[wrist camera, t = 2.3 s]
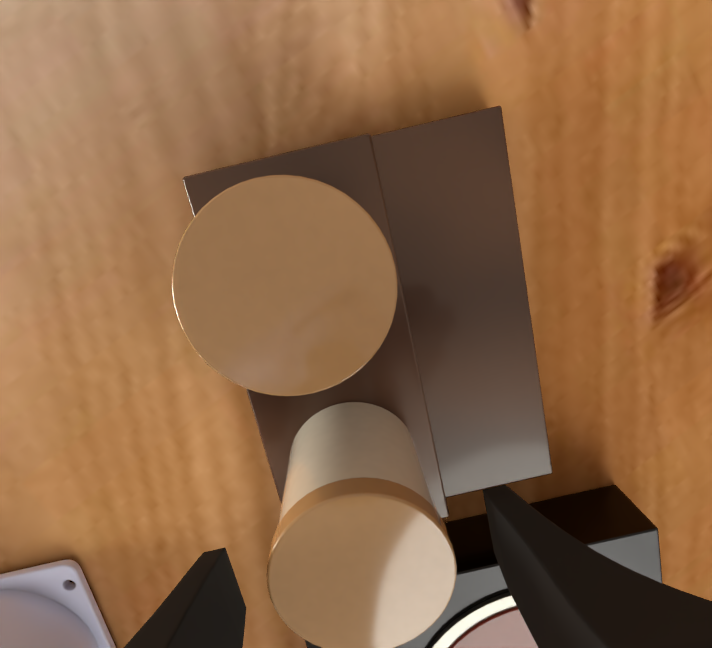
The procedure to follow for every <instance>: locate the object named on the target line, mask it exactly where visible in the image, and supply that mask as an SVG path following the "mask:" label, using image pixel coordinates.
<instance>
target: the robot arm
mask: <svg viewBox="0 0 712 648" xmlns="http://www.w3.org/2000/svg"><path fill="white" fill-rule="evenodd" d="M483 494H484V500H485V505H486V511H487V516H488V522H489V527H490V533H491V538H492V543H493V549H494V553H495V556H496V559H497V561H498V564H499V567H500V569H501V572H502V575H503V577H504V580H505V582H506V585H507V587H508V590H509V592H510V594H511V596H512V598H513V600H514V601H515V603H516V605H517V607H518V609H519V611H520V613H521V615H522V617H523V619H524V621H525V623H526V625H527V627H528V629H529V631H530V633H531V635H532V637H533V638H534V640H535V642H536V644H537V646H538V648H712V601H709V600H706V599H703V598H700V597H697V596H695V595H692V594H689V593H686V592H683V591H680V590H678V589H675V588H673V587H670V586H668V585H665V584H662V583H660V582H658V581H655V580H653V579H651V578H649V577H646V576H644V575H642V574H640V573H637V572H635V571H633V570H631V569H629V568H627V567H625V566H623V565H621V564H619V563H617V562H615V561H613V560H611V559H609V558H608V557H606V556H604V555H602V554H600V553H598V552H596V551H595V550H593V549H591V548H590V547H588V546H587V545H585V544H583V543H582V542H580V541H579V540H577V539H576V538H574V537H573V536H571V535H570V534H568V533H567V532H565V531H564V530H562V529H561V528H560V527H558V526H557V525H555V524H554V523H553V522H551V521H550V520H549V519H547V518H546V517H545V516H543V515H542V514H541V513H539V512H538V511H537V510H535V509H534V508H533V507H532V506H530V505H529V504H528V503H527V502H525V501H524V500H523V499H522V498H521V497H519V496H518V495H517V494H516V493H515V492H514V491H512V490H511V489H510V488H509V487H507V486H506V485H502V486H497V487H493V488H488V489H484V490H483ZM68 580H71V581H73V582H74V583H71V582H69V581H68ZM245 615H246V606H245V603H244V600H243V597H242V595H241V592H240V589H239V586H238V583H237V580H236V577H235V574H234V572H233V569H232V566H231V563H230V560H229V557H228V554H227V551H226V549H225V548H222V549H217V550H213V551H208V552H204V553H203V554H202V555H201V556H200V557H199V558H198V560H197V561H196V562H195V563H194V565H193V566H192V567H191V568H190V570H189V571H188V572H187V573H186V575H185V576H184V577H183V578H182V580H181V581H180V582H179V583H178V585H177V586H176V587H175V588H174V590H173V591H172V592H171V593H170V594H169V596H168V597H167V598H166V599H165V601H164V602H163V603H162V604H161V606H160V607H159V608H158V609H157V610H156V612H155V613H154V614H153V615H152V616H151V617H150V619H149V620H148V621H147V622H146V623H145V624H144V625H143V626H142V628H141V629H140V630H139V631H138V632H137V633H136V634H135V636H134V637H133V638H132V639H131V640H130V641H129V642H128V644H127V645H126V646H125V647H124V648H242V647H243V637H244V627H245ZM0 648H116V647H115V644H114V642H113V640H112V637H111V635H110V633H109V631H108V628H107V626H106V624H105V622H104V619H103V617H102V615H101V613H100V610H99V608H98V606H97V603H96V601H95V599H94V597H93V594H92V592H91V590H90V588H89V585H88V583H87V581H86V578H85V576H84V574H83V572H82V569H81V567H80V566H79V564H78V563H77V562H75V561H73V560H70V559H67V560H61V561H56V562H52V563H48V564H43V565H39V566H34V567H30V568H26V569H21V570H17V571H12V572H8V573H4V574H0Z"/></svg>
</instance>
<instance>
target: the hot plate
mask: <svg viewBox="0 0 712 648" xmlns="http://www.w3.org/2000/svg"><path fill="white" fill-rule="evenodd" d="M529 505H530V506H532V507H533V508H534V509H535V510H537V511H538V512H539V513H541V514H542V515H543V516H545V517H546V518H547V519H549V520H550V521H551V522H553V523H554V524H555V525H557V526H558V527H560V528H561V529H562V530H564V531H565V532H567V533H568V534H570V535H571V536H573V537H574V538H576V539H577V540H579V541H580V542H582V543H583V544H585V545H587V546H588V547H590V548H591V549H593V550H595V551H596V552H598V553H600V554H602V555H604V556H606V557H608V558H609V559H611V560H613V561H615V562H617V563H619V564H621V565H623V566H625V567H627V568H629V569H631V570H633V571H635V572H637V573H640V574H642V575H644V576H646V577H649V578H651V579H653V580H655V581H658V582H660V583H662V573H661V560H660V548H659V536H658V529H657V527H656V526H655V525H654V524H653V523H652V522H651V521H650V520H649V519H648V518H647V517H646V516H645V515H644V514H643V513H642V512H641V511H640V510H639V509H638V508H637V507H636V506H635V504H634V503H633V502H632V501H631V500H630V499H629V498H628V497H627V496H626V495H625V494H624V493H623V492H622V491H621V490H620V489H619V488H618V487H617V486H616V485H611V486H606V487H602V488H598V489H593V490H589V491H584V492H580V493H575V494H571V495H567V496H562V497H558V498H553V499H549V500H544V501H540V502H536V503H531V504H529ZM444 524H445V526H446V528H447V530H448V533H449V536H450V539H451V542H452V545H453V549H454V552H455V556H456V563H457V576H456V582H455V587H454V590H453V593H452V596H451V599H450V601H449V603H448V605H447V607H446V608H445V610H444V611H443V613H442V614H441V616H440V617H439V618H438V619H437V620H436V621H435V622H434V624H433V625H432V626H430V627H429V628H428V629H427V630H426V631H425V632H423V633H422V634H420V635H419V636H417V637H416V638H414V639H413V640H411V641H409V642H407V643H405V644H403V645H400V646H398V647H395V648H429V646H430V645H431V643H432V642H433V641H434V640H435V638H436V637H437V636H438V635H439V634H440V633H441V632H442V631H443V630H444V629H445V628H446V627H447V626H448V625H449V624H450V623H452V622H453V621H454V620H455V619H456V618H458V617H459V616H460V615H462V614H463V613H465V612H466V611H468V610H469V609H471V608H473V607H474V606H476V605H478V604H480V603H482V602H484V601H486V600H488V599H491V598H493V597H496V596H498V595H501V594H504V593H507V592H509V590H508V587H507V585H506V582H505V580H504V577H503V575H502V572H501V569H500V567H499V564H498V561H497V559H496V556H495V553H494V549H493V543H492V538H491V533H490V527H489V522H488V516H487V514H482V515H478V516H473V517H469V518H465V519H460V520H456V521H451V522H447V523H444ZM305 642H306V645H307V648H321V647H319V646H316V645H314V644H312V643H310V642H308V641H306V640H305Z"/></svg>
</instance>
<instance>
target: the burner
mask: <svg viewBox="0 0 712 648" xmlns="http://www.w3.org/2000/svg"><path fill="white" fill-rule="evenodd" d="M429 648H538V646H537V644H536V642H535V640H534V638H533V637H532V635H531V633H530V631H529V629H528V627H527V625H526V623H525V621H524V619H523V617H522V615H521V613H520V611H519V609H518V607H517V605H516V603H515V601H514V600H513V598H512V596H511V594H510V592H507V593H504V594H501V595H498V596H496V597H493V598H491V599H488V600H486V601H484V602H482V603H480V604H478V605H476V606H474V607H473V608H471V609H469V610H468V611H466V612H465V613H463V614H462V615H460V616H459V617H458V618H456V619H455V620H454V621H453V622H452V623H450V624H449V625H448V626H447V627H446V628H445V629H444V630H443V631H442V632H441V633H440V634H439V635H438V636H437V637H436V638H435V640H434V641H433V642H432V643H431V645H430V646H429Z"/></svg>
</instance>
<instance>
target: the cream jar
mask: <svg viewBox="0 0 712 648" xmlns="http://www.w3.org/2000/svg"><path fill="white" fill-rule="evenodd" d="M456 576H457V563H456V556H455V552H454V549H453V545H452V542H451V539H450V536H449V533H448V530H447V528H446V526H445V524H444V521H443V519H442V518H441V516H440V515H439V513H438V512H437V509H436V506H435V503H434V500H433V497H432V494H431V491H430V488H429V485H428V482H427V479H426V476H425V473H424V470H423V467H422V464H421V461H420V458H419V454H418V451H417V448H416V445H415V442H414V439H413V437H412V435H411V433H410V431H409V430H408V428H407V427H406V426H405V424H404V423H403V422H402V421H401V420H400V419H399V418H398V417H397V416H395V415H394V414H393V413H391V412H389V411H388V410H386V409H384V408H382V407H379V406H376V405H373V404H369V403H363V402H346V403H340V404H336V405H333V406H330V407H328V408H325V409H323V410H321V411H320V412H318V413H316V414H315V415H313V416H312V417H311V418H310V419H308V420H307V421H306V422H305V423H304V424H303V426H302V427H301V428H300V430H299V431H298V433H297V434H296V436H295V438H294V441H293V443H292V446H291V450H290V455H289V461H288V468H287V474H286V480H285V486H284V492H283V498H282V504H281V510H280V517H279V523H278V527H277V529H276V531H275V534H274V536H273V539H272V544H271V548H270V553H269V559H268V565H267V586H268V591H269V595H270V598H271V600H272V603H273V605H274V608H275V609H276V611H277V613H278V614H279V616H280V618H281V619H282V620H283V621H284V622H285V624H286V625H287V626H288V627H289V628H290V629H291V630H292V631H293V632H295V633H296V634H297V635H299V636H300V637H301V638H303V639H304V640H306V641H308V642H310V643H312V644H314V645H316V646H319V647H321V648H395V647H398V646H400V645H403V644H405V643H407V642H409V641H411V640H413V639H414V638H416V637H417V636H419V635H420V634H422V633H423V632H425V631H426V630H427V629H428V628H429V627H430V626H432V625H433V624H434V622H435V621H436V620H437V619H438V618H439V617H440V616H441V614H442V613H443V611H444V610H445V608H446V607H447V605H448V603H449V601H450V599H451V596H452V593H453V590H454V587H455V582H456Z"/></svg>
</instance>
